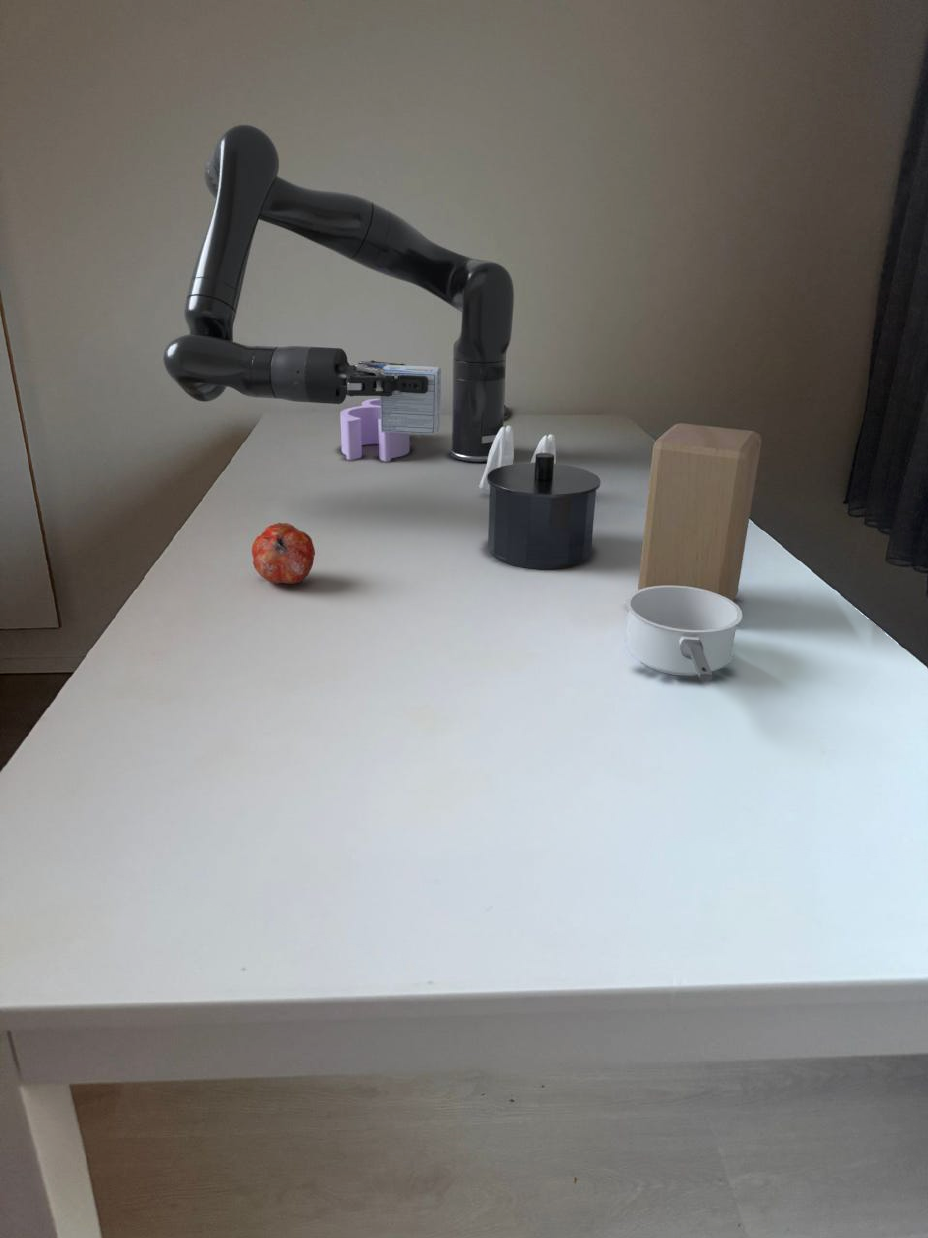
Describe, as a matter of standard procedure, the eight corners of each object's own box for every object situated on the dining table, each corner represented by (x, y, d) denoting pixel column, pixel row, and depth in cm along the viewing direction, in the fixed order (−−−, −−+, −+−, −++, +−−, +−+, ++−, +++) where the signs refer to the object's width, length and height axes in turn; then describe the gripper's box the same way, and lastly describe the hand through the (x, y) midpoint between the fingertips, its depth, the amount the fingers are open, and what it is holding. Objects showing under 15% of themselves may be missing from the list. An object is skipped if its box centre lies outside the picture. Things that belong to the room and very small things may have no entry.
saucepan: (633, 725, 81) (639, 670, 78) (616, 629, 99) (621, 582, 97) (763, 733, 80) (774, 678, 78) (723, 635, 98) (730, 587, 96)
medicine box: (440, 428, 129) (442, 366, 125) (436, 436, 125) (437, 372, 121) (386, 425, 130) (385, 363, 126) (380, 433, 126) (379, 369, 122)
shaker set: (479, 499, 141) (481, 429, 136) (477, 491, 145) (479, 422, 140) (555, 500, 142) (560, 429, 137) (552, 492, 145) (556, 423, 141)
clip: (356, 433, 179) (355, 397, 176) (419, 435, 178) (419, 400, 175) (333, 459, 161) (331, 420, 158) (402, 462, 160) (402, 423, 157)
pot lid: (492, 468, 125) (493, 438, 123) (599, 473, 123) (602, 444, 121) (480, 499, 111) (481, 466, 110) (600, 506, 110) (602, 473, 108)
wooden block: (737, 597, 108) (764, 430, 99) (722, 629, 99) (749, 450, 91) (654, 582, 111) (673, 420, 103) (633, 612, 103) (651, 438, 95)
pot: (493, 530, 128) (496, 464, 124) (590, 536, 126) (596, 470, 122) (483, 565, 116) (485, 493, 112) (590, 572, 114) (596, 500, 110)
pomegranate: (258, 587, 113) (231, 565, 103) (274, 533, 115) (249, 506, 105) (315, 599, 112) (293, 578, 102) (330, 544, 114) (310, 518, 104)
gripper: (292, 354, 118) (422, 361, 116) (323, 339, 131) (440, 345, 129) (295, 412, 121) (421, 420, 119) (325, 392, 134) (439, 398, 132)
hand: (430, 381), depth 124 cm, fingers closed on medicine box, 4 cm apart
